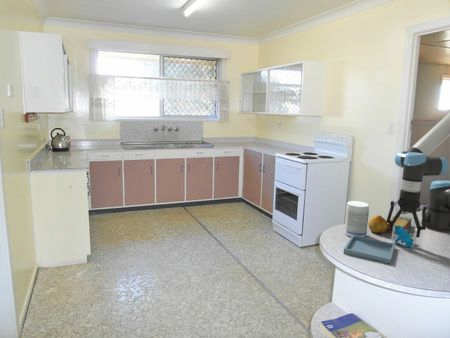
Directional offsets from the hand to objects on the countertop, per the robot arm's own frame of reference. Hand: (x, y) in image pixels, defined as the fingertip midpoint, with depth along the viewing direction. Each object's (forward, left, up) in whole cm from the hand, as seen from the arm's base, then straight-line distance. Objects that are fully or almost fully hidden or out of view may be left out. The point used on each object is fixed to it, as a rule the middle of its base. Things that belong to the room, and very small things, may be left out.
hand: (403, 241), depth 152 cm
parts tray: (+11, +15, -1) cm, 19 cm away
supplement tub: (+20, 0, -2) cm, 20 cm away
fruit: (+12, -10, -2) cm, 16 cm away
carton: (+4, -21, -2) cm, 21 cm away
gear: (0, 0, -2) cm, 2 cm away
